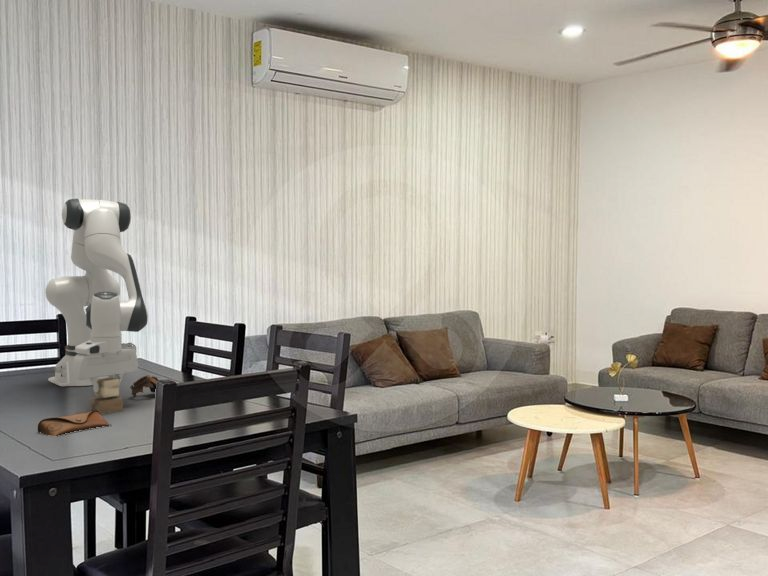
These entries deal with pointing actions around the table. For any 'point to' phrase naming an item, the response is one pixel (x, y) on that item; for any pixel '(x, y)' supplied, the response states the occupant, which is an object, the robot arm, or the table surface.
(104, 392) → the beech block
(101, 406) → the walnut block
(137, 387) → the brown piece
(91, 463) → the table surface
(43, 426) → the sunglasses case
